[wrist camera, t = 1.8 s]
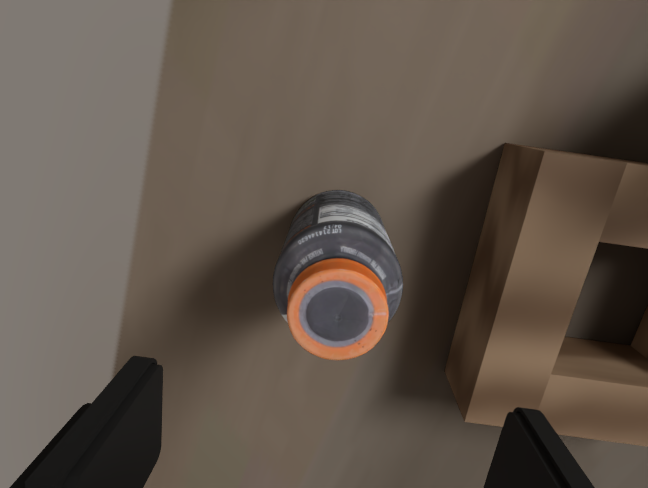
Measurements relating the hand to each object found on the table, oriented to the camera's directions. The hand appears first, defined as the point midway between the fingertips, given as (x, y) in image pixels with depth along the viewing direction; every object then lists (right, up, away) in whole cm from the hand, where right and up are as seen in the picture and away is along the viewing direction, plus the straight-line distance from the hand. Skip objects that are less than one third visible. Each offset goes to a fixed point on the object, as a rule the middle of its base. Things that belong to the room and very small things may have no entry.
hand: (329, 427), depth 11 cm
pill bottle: (+1, +6, +16) cm, 17 cm away
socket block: (+17, +2, +16) cm, 24 cm away
